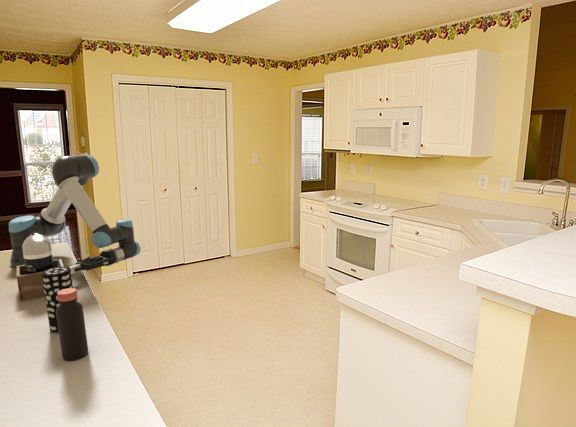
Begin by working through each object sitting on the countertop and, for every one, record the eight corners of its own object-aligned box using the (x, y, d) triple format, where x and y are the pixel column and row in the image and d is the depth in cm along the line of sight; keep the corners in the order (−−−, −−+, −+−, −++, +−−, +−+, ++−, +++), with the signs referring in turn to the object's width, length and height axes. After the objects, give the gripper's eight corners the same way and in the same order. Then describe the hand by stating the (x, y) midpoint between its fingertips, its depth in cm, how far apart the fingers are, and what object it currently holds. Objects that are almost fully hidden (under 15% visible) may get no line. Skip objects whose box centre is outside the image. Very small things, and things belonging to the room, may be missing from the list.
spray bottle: (44, 295, 162) (35, 235, 157) (22, 293, 164) (13, 235, 159) (63, 286, 172) (55, 229, 167) (42, 284, 174) (34, 228, 169)
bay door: (61, 280, 178) (58, 259, 176) (64, 280, 178) (61, 258, 176) (64, 291, 165) (61, 268, 163) (67, 291, 166) (64, 268, 164)
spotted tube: (51, 324, 137) (43, 268, 133) (78, 319, 140) (71, 265, 136) (48, 335, 129) (39, 276, 125) (77, 329, 133) (69, 272, 129)
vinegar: (82, 346, 122) (74, 284, 118) (92, 353, 118) (84, 290, 114) (58, 356, 117) (49, 292, 113) (68, 364, 113) (59, 298, 109)
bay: (20, 288, 170) (16, 266, 168) (60, 280, 178) (57, 259, 176) (20, 301, 157) (16, 276, 155) (63, 292, 165) (60, 269, 163)
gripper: (122, 265, 189) (77, 282, 168) (102, 262, 194) (56, 278, 174) (120, 250, 187) (75, 265, 166) (100, 247, 193) (54, 261, 172)
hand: (65, 271), depth 170 cm, fingers closed
